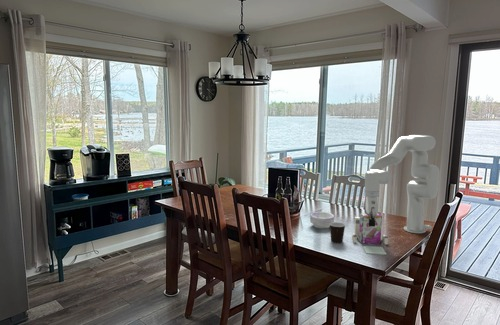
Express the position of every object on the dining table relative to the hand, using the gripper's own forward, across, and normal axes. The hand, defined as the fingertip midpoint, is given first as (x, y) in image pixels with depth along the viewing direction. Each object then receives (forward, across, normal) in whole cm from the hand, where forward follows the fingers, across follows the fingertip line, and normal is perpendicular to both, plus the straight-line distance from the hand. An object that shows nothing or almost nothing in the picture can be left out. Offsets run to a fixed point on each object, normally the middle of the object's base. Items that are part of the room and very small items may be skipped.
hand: (370, 223), depth 191 cm
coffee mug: (+11, -2, +19) cm, 22 cm away
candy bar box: (+11, 0, 0) cm, 11 cm away
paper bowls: (+11, +26, +25) cm, 38 cm away
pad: (+11, -12, 0) cm, 17 cm away
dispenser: (+11, +4, 0) cm, 12 cm away
